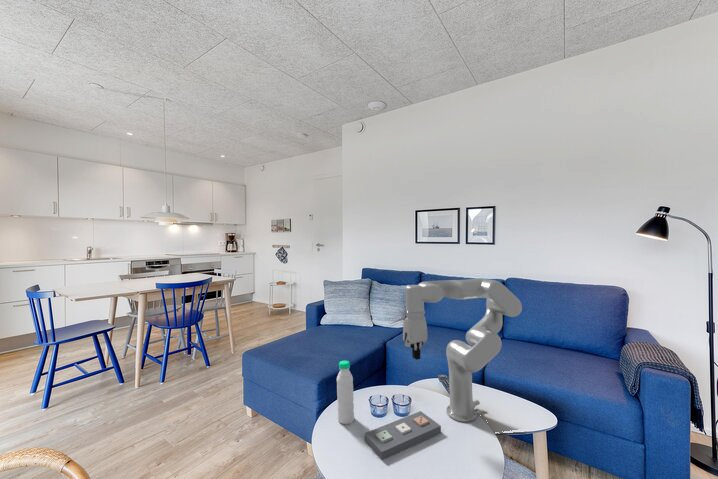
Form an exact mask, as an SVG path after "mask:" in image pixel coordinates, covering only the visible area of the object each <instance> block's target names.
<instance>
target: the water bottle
mask: <svg viewBox="0 0 718 479" xmlns="http://www.w3.org/2000/svg"><path fill="white" fill-rule="evenodd" d="M350 363H351V362H350V361H349V360H341V361H339V363H338V368H339V372H338V374H337V376H336V396H337V398H336V399H337V420H338V422H339V423H341V424H342V425H348V424H350V423H353V421H355V412H354V410H355V404H354V383H353V382H354V377H353V375H352V373H351V371H350V368H351V364H350Z"/></svg>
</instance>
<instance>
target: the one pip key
mask: <svg viewBox="0 0 718 479" xmlns="http://www.w3.org/2000/svg"><path fill="white" fill-rule="evenodd" d="M395 429H396V430H397V431H398V432H399V433H400V434H401V435H404V434H406V433H408V432H411V428H410V427H409V426H408V425H406V424H405V423H402V424H399V425H397V426H395Z"/></svg>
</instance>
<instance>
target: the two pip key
mask: <svg viewBox="0 0 718 479" xmlns="http://www.w3.org/2000/svg"><path fill="white" fill-rule="evenodd" d="M376 438H377V439H378V440H379V441H380V442H381V443H382V444H383V443H385V442H387V441H390V440H392V436H391V435H390V434H389V433H388V432H387V431H386V430H385V431H382V432H380V433H377V434H376Z"/></svg>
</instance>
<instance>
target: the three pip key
mask: <svg viewBox="0 0 718 479" xmlns="http://www.w3.org/2000/svg"><path fill="white" fill-rule="evenodd" d="M413 422H414V423H415V424H417V425H418V426H419V427H422V426H425V425H427V424H429V421H428V420H427V419H425V418H424V417H423V416H419V417H417V418H414V419H413Z"/></svg>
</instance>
